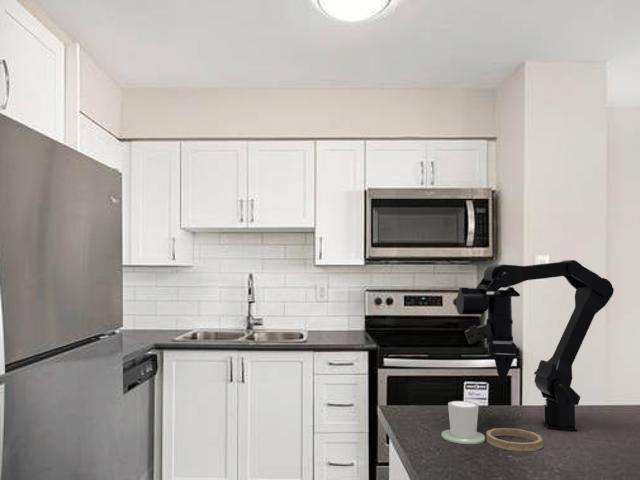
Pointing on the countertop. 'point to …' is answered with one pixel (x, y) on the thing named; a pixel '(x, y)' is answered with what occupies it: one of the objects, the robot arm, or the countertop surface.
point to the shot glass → (463, 419)
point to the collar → (514, 445)
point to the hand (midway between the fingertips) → (501, 378)
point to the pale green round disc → (450, 438)
